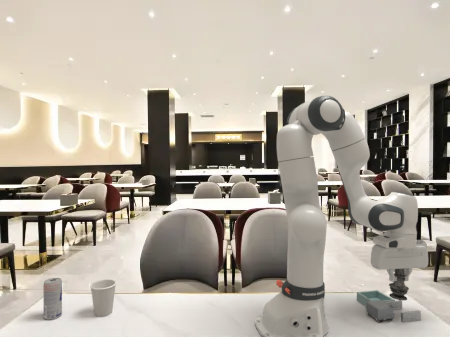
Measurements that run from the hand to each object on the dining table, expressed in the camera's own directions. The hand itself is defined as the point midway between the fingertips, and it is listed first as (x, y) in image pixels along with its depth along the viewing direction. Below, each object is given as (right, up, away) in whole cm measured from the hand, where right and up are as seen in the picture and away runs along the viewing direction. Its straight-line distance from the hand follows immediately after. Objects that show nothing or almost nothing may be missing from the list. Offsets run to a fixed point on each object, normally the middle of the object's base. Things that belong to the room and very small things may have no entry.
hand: (398, 280), depth 105 cm
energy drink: (-116, -12, -1) cm, 117 cm away
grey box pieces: (-3, -12, 0) cm, 12 cm away
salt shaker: (0, -6, 0) cm, 6 cm away
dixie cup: (-100, -12, +1) cm, 101 cm away
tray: (-4, -12, +9) cm, 15 cm away
